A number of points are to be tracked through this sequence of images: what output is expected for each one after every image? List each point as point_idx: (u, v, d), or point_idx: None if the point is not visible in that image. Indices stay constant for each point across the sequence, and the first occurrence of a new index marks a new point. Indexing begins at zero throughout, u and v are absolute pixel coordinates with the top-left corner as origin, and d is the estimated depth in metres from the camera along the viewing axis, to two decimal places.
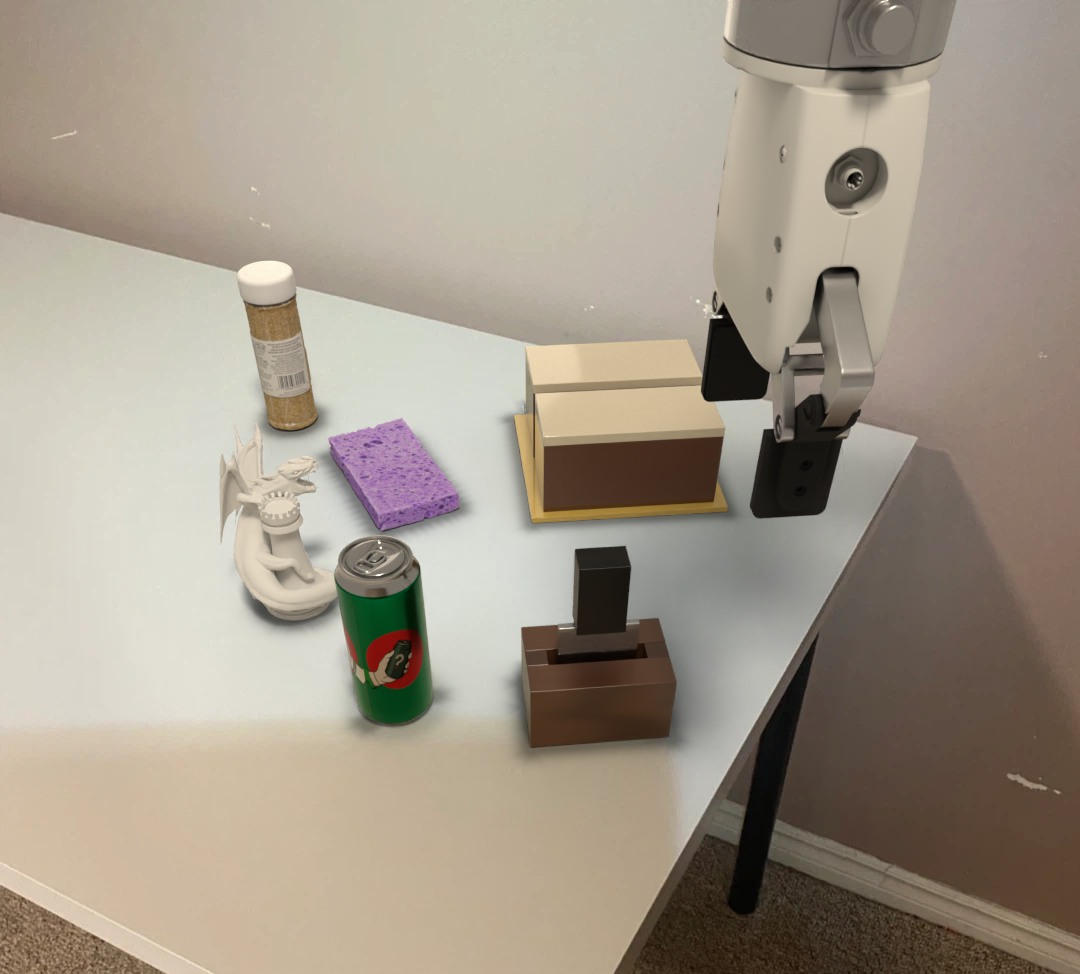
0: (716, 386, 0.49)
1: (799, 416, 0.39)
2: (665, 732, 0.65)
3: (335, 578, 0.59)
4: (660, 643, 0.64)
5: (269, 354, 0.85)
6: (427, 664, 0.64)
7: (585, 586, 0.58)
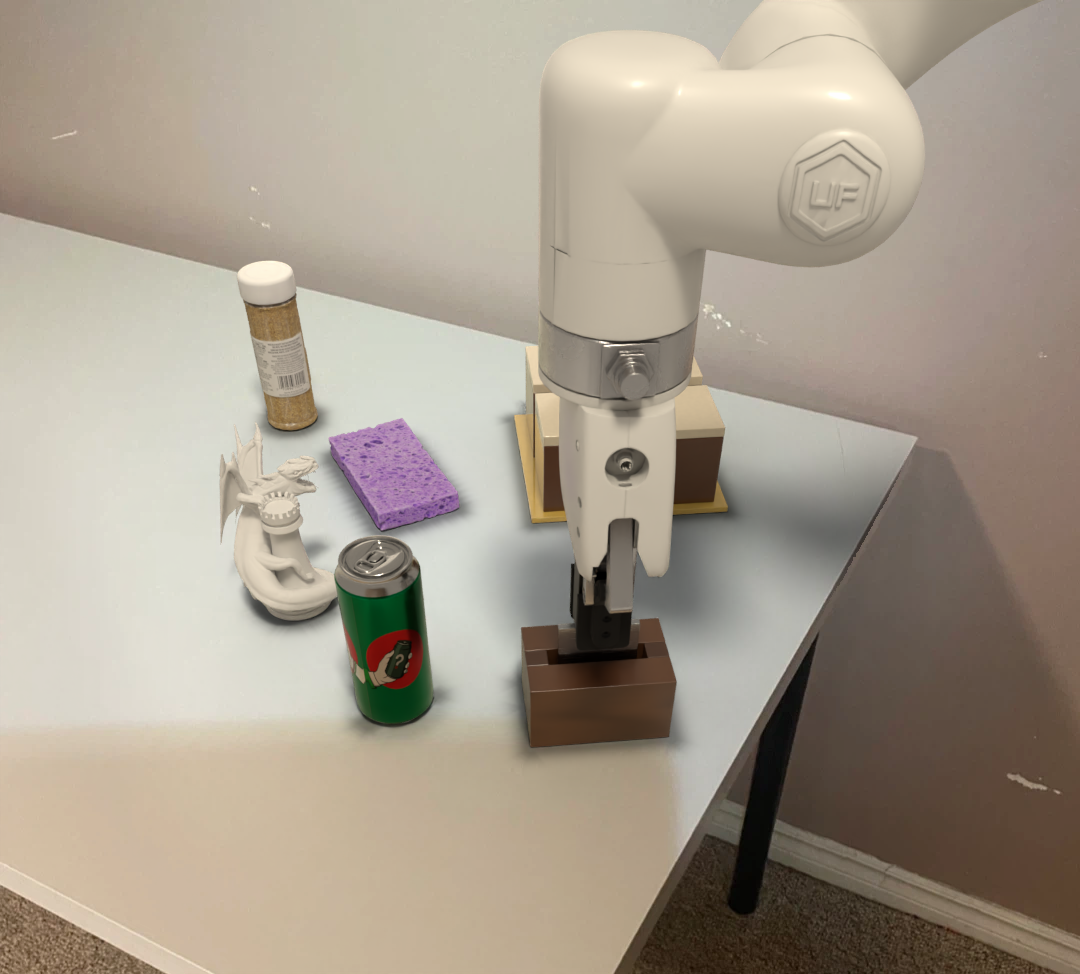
0: None
1: None
2: (665, 732, 0.65)
3: (335, 578, 0.59)
4: (660, 643, 0.64)
5: (269, 354, 0.85)
6: (427, 664, 0.64)
7: None
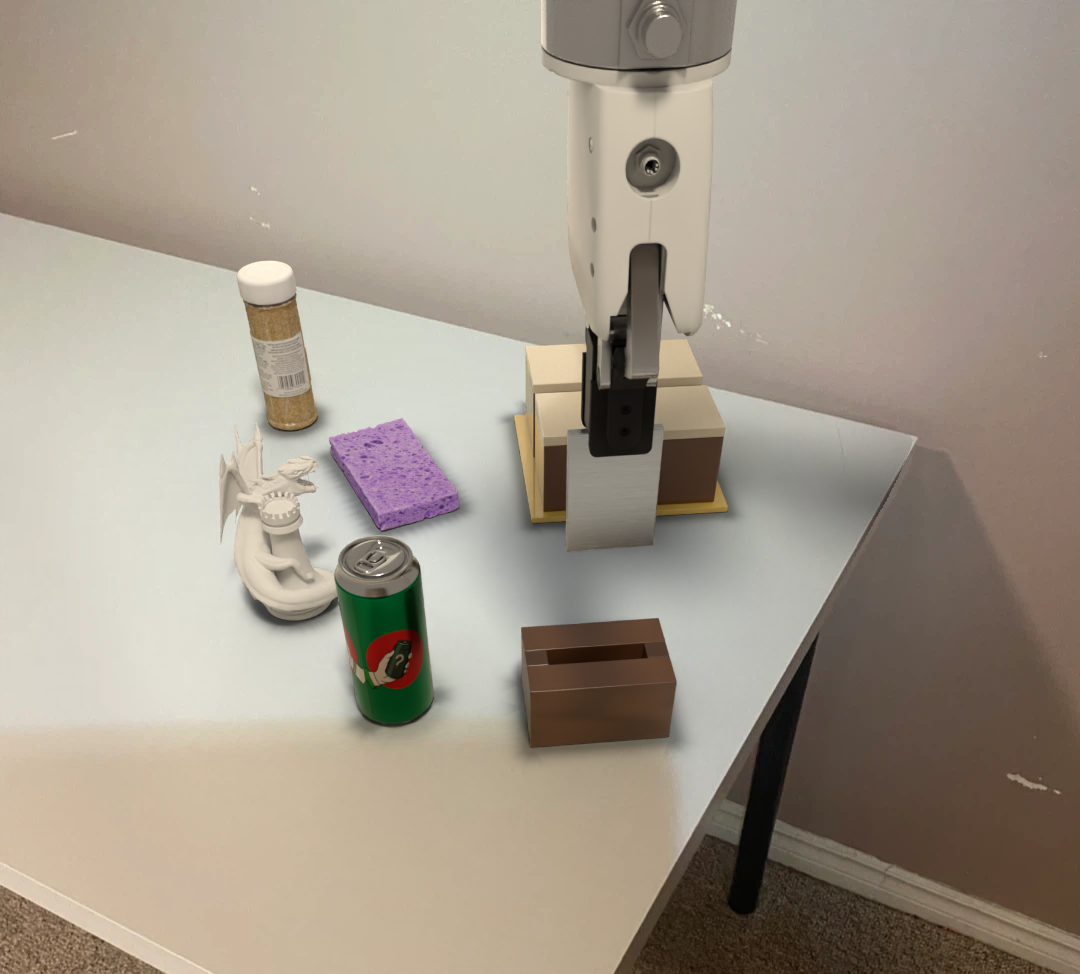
0: None
1: None
2: (665, 732, 0.65)
3: (335, 578, 0.59)
4: (660, 643, 0.64)
5: (269, 354, 0.85)
6: (427, 664, 0.64)
7: None
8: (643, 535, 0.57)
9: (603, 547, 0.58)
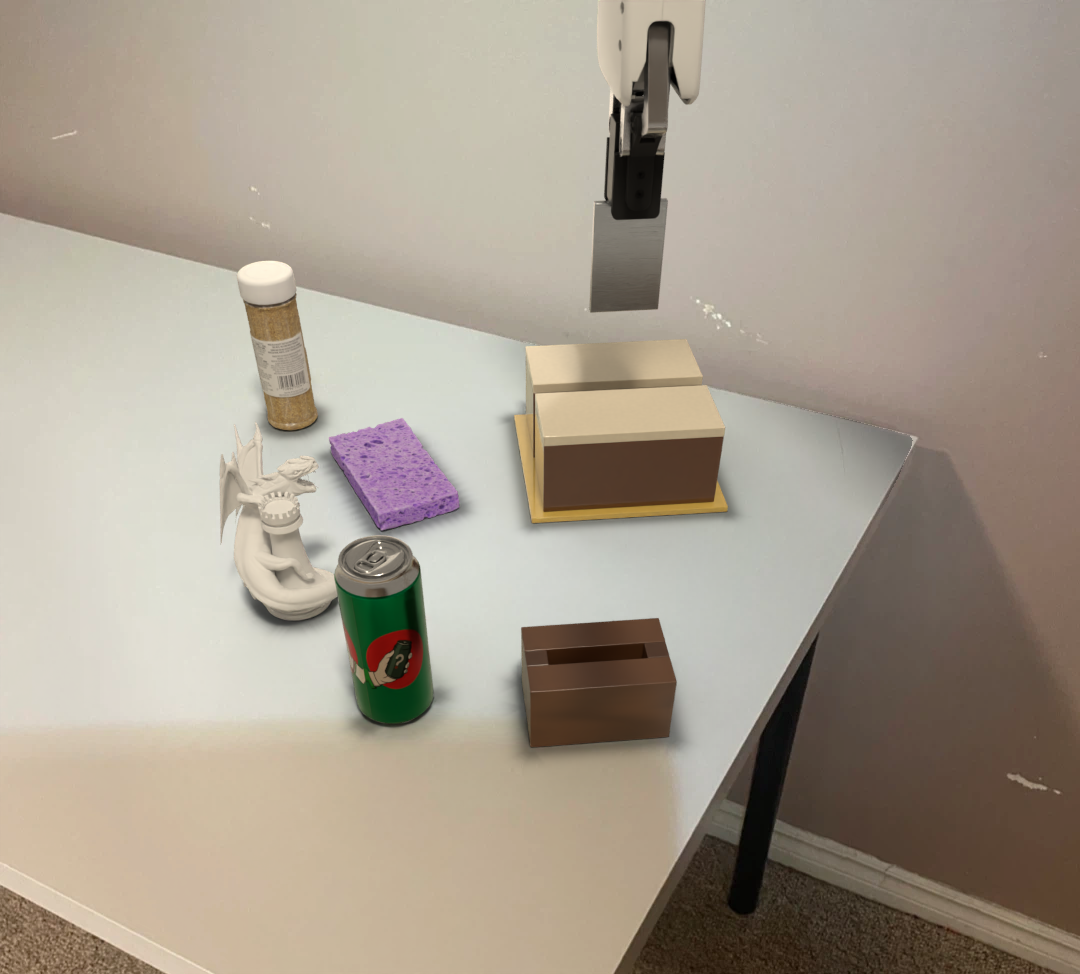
0: None
1: (631, 135, 0.63)
2: (665, 732, 0.65)
3: (335, 578, 0.59)
4: (660, 643, 0.64)
5: (269, 354, 0.85)
6: (427, 664, 0.64)
7: None
8: (650, 299, 0.73)
9: (619, 309, 0.73)
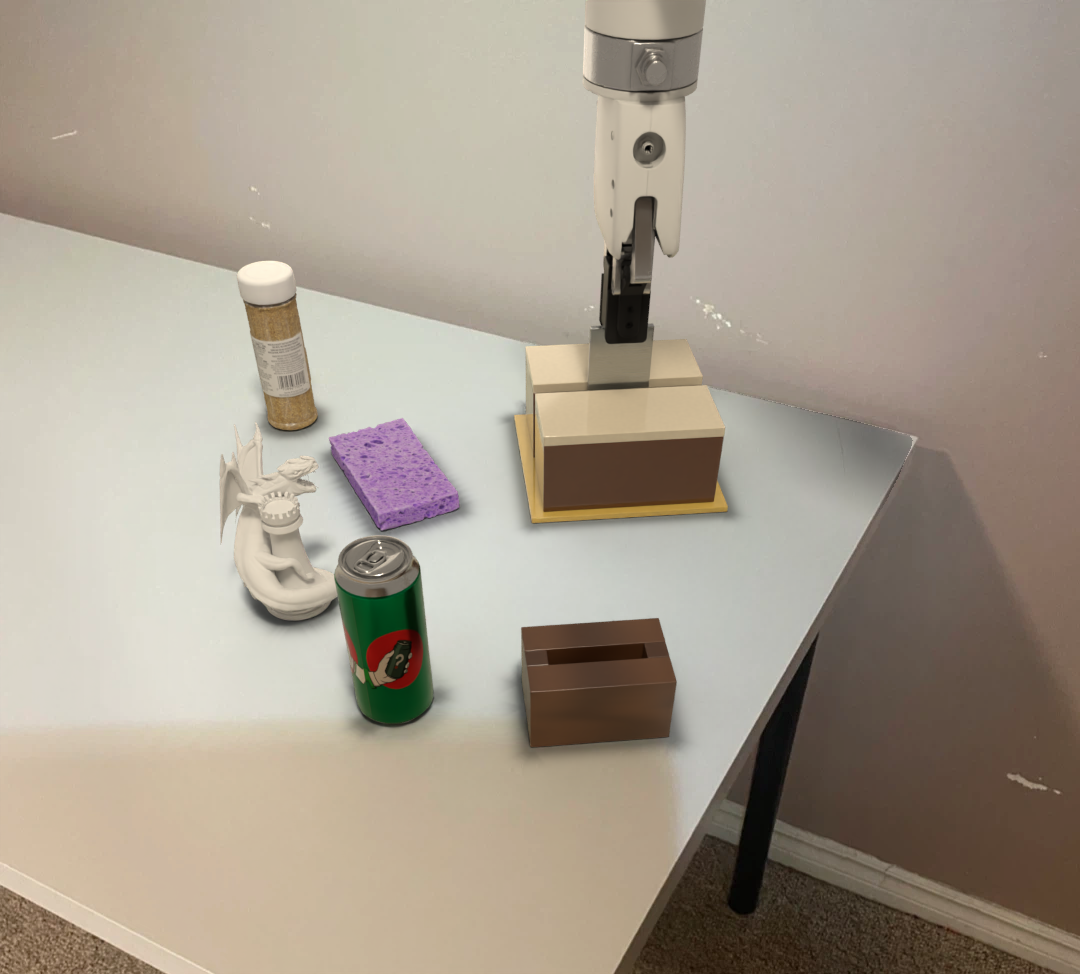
0: None
1: (622, 279, 0.73)
2: (665, 732, 0.65)
3: (335, 578, 0.59)
4: (660, 643, 0.64)
5: (269, 354, 0.85)
6: (427, 664, 0.64)
7: None
8: None
9: None
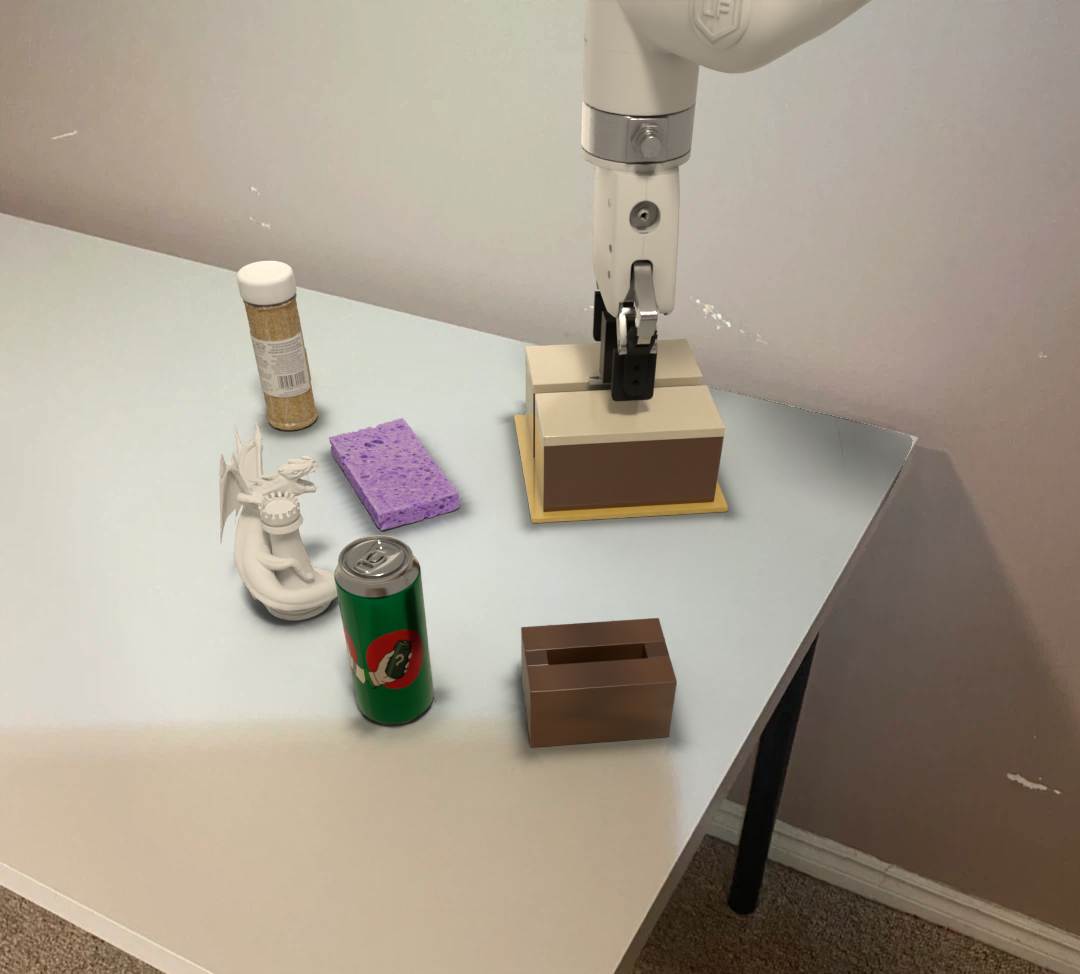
0: (600, 331, 0.83)
1: (628, 339, 0.73)
2: (665, 732, 0.65)
3: (335, 578, 0.59)
4: (660, 643, 0.64)
5: (269, 354, 0.85)
6: (427, 664, 0.64)
7: (610, 337, 0.78)
8: None
9: None
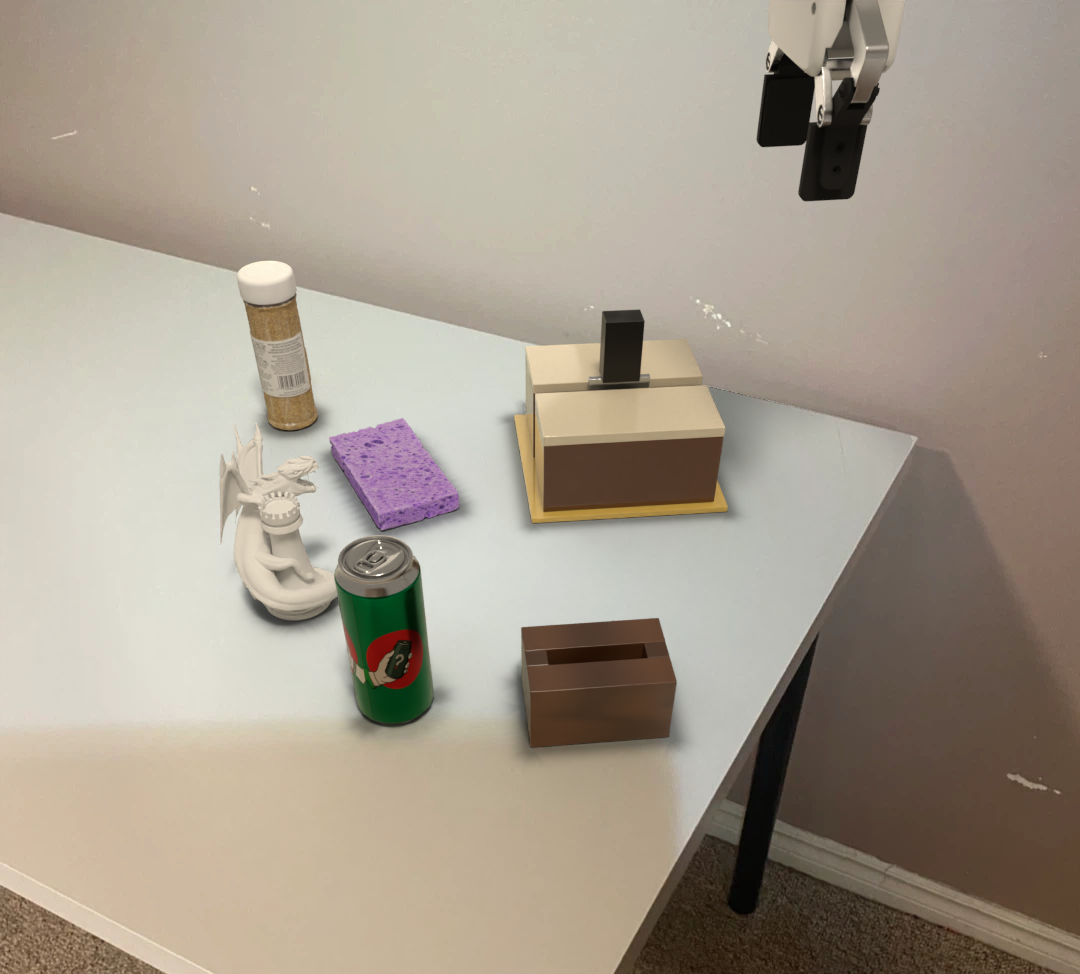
0: (768, 132, 0.65)
1: (835, 102, 0.55)
2: (665, 732, 0.65)
3: (335, 578, 0.59)
4: (660, 643, 0.64)
5: (269, 354, 0.85)
6: (427, 664, 0.64)
7: (610, 337, 0.78)
8: None
9: None
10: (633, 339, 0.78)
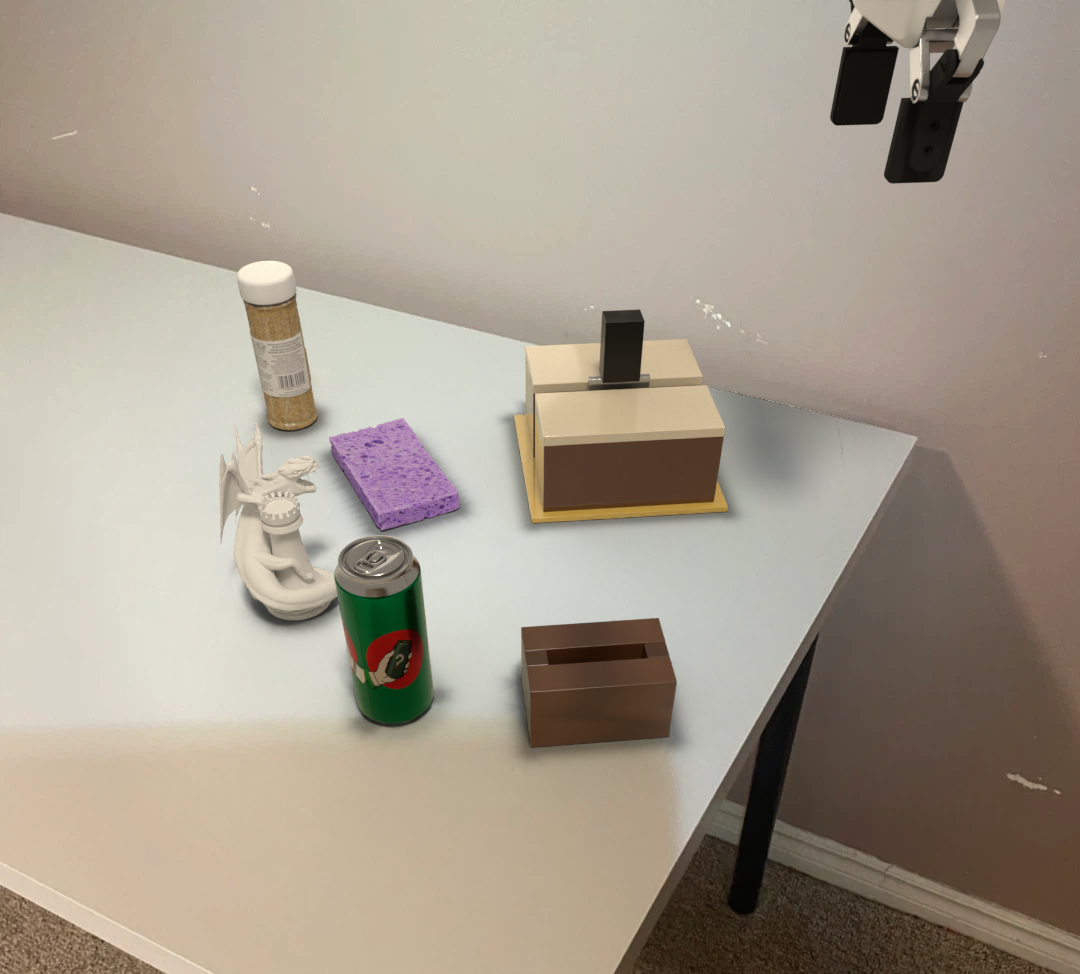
0: (844, 109, 0.61)
1: (933, 76, 0.51)
2: (665, 732, 0.65)
3: (335, 578, 0.59)
4: (660, 643, 0.64)
5: (269, 354, 0.85)
6: (427, 664, 0.64)
7: (610, 337, 0.78)
8: None
9: None
10: (633, 339, 0.78)
